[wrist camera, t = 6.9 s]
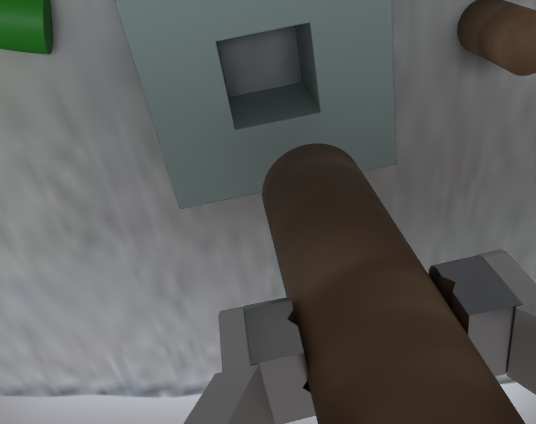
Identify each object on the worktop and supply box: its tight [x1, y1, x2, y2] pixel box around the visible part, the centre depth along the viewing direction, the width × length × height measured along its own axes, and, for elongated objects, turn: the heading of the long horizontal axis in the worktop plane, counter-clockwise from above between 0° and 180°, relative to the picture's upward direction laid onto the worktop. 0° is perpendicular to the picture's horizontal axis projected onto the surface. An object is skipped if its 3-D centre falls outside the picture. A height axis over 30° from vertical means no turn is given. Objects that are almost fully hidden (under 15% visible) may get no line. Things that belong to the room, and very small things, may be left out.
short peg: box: [457, 0, 536, 76], centre depth 27 cm, size 3×3×5 cm
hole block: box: [115, 0, 397, 209], centre depth 26 cm, size 12×12×5 cm
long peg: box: [262, 143, 525, 424], centre depth 10 cm, size 3×3×11 cm
